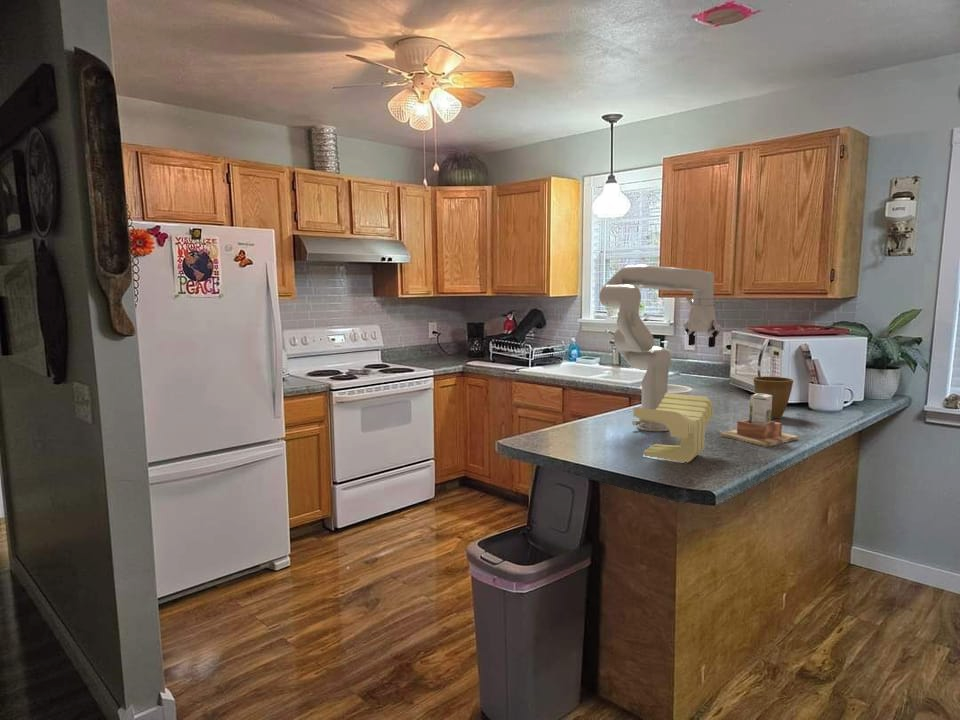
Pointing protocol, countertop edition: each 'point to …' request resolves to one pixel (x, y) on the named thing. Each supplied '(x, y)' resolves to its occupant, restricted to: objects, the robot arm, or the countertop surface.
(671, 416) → the slatted curved stool
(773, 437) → the terracotta box on board
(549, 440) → the countertop surface
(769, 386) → the plant pot
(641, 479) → the countertop surface
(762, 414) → the syrup box
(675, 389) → the soup bowl
